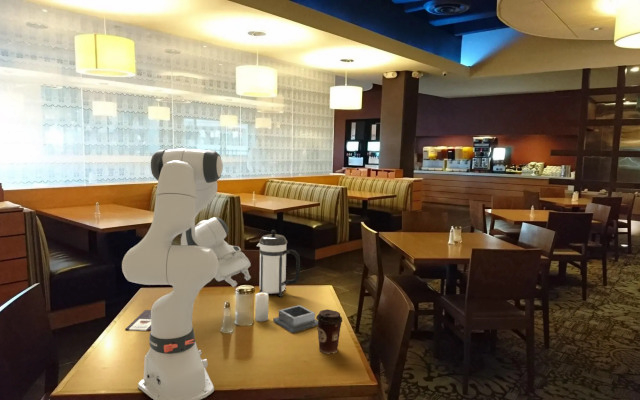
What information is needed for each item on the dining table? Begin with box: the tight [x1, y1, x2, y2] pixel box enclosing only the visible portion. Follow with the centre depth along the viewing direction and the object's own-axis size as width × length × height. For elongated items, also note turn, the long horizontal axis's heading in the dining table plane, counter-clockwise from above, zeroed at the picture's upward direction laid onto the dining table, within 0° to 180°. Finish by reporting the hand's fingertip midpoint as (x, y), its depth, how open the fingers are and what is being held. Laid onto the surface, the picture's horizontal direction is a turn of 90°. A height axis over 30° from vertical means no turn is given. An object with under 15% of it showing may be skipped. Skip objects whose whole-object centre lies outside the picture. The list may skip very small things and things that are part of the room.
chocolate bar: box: [124, 309, 151, 332], centre depth 161 cm, size 9×1×18 cm
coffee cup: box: [315, 309, 343, 355], centre depth 141 cm, size 9×8×13 cm
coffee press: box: [256, 229, 301, 298], centre depth 195 cm, size 17×16×30 cm
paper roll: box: [254, 292, 269, 323], centre depth 165 cm, size 5×5×10 cm
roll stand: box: [272, 304, 318, 334], centre depth 162 cm, size 13×13×5 cm
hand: (242, 282), depth 168 cm, fingers open, 8 cm apart
